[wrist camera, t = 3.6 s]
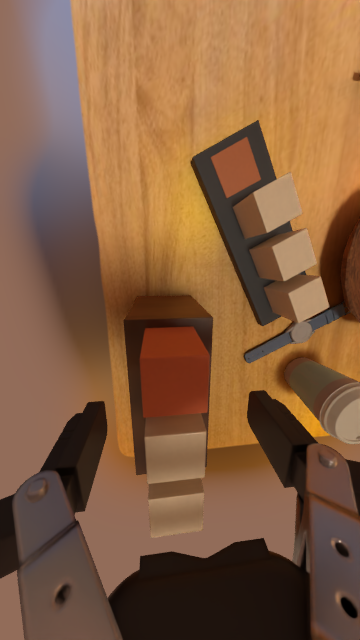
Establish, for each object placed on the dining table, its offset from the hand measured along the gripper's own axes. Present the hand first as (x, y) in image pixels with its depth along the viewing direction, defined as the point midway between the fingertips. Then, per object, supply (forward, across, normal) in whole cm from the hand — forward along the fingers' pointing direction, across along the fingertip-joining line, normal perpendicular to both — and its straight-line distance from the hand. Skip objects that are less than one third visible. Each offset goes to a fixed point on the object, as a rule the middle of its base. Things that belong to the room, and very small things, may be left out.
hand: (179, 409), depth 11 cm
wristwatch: (+21, -22, +4) cm, 31 cm away
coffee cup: (+21, -24, +12) cm, 34 cm away
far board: (+21, -14, -11) cm, 27 cm away
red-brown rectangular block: (+8, 0, 0) cm, 8 cm away
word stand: (+21, 0, +6) cm, 22 cm away
